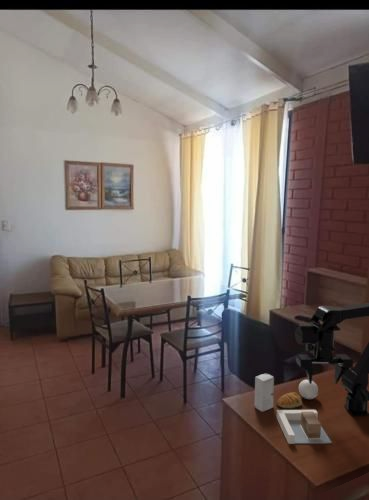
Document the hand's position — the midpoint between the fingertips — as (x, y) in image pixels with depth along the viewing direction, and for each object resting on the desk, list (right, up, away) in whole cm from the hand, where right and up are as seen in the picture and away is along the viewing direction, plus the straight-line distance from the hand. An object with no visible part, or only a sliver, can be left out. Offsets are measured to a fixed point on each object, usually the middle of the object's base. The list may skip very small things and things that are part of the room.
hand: (322, 383), depth 129 cm
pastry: (-9, -12, +8) cm, 17 cm away
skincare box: (-20, -12, +6) cm, 24 cm away
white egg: (0, -11, +13) cm, 17 cm away
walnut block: (-8, -13, -9) cm, 17 cm away
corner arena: (-10, -13, -7) cm, 18 cm away
